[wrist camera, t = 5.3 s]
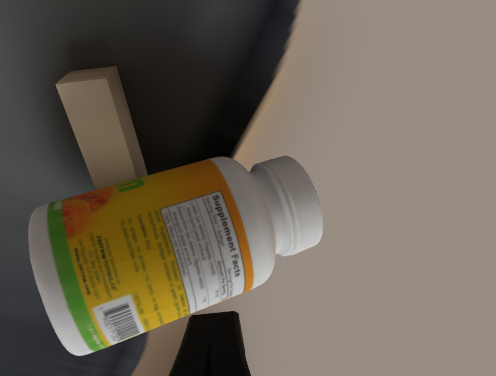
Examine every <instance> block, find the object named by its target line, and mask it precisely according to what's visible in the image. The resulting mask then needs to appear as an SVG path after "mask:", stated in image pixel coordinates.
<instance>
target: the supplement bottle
mask: <svg viewBox="0 0 496 376" xmlns="http://www.w3.org/2000/svg"><path fill="white" fill-rule="evenodd" d="M322 231H323V217H322V211H321V206H320V202H319V199H318V195H317V193H316V190H315V188H314V185H313V184H312V181H311V180H310V178H309V176H308V174H307V173H306V171H305V170H304V168H303V167H302V166H301V165H300V164H299V163H298V162H297V161H296V160H294V159H293V158H291V157H288V156H283V157H279V158H275V159H271V160H268V161H264V162H262V163H258V164H255V165H254V166H253V167H252V169H251V171H250V172H248V171H247V170H246V169H245V168H244V167H243V166H242V165H241V164H240V163H238V162H237V161H235V160H233V159H231V158H228V157H215V158H211V159H206V160H203V161H199V162H195V163H192V164H188V165H185V166H181V167H177V168H174V169H170V170H166V171H163V172H159V173H155V174H152V175H148V176H144V177H140V178H137V179H133V180H130V181H127V182H122V183H119V184H115V185H112V186H108V187H105V188H101V189H98V190H94V191H90V192H87V193H83V194H80V195H76V196H73V197H69V198H65V199H62V200H58V201H55V202H52V203H48V204H45V205H42V206H40V207H38V208H36V209H35V210H34V211H33V213H32V215H31V218H30V221H29V233H28V235H29V252H30V259H31V264H32V268H33V272H34V276H35V280H36V283H37V286H38V289H39V292H40V295H41V298H42V301H43V303H44V306H45V309H46V312H47V314H48V317H49V319H50V321H51V323H52V326H53V328H54V330H55V332H56V334H57V336H58V338H59V339H60V341H61V343H62V344H63V345H64V347H65V348H66V349H67V350H68V351H69V352H70V353H72V354H74V355H78V356H81V355H86V354H89V353H92V352H94V351H98V350H100V349H103V348H106V347H108V346H111V345H114V344H116V343H119V342H121V341H124V340H126V339H129V338H131V337H134V336H136V335H139V334H141V333H144V332H146V331H149V330H151V329H154V328H156V327H159V326H161V325H164V324H166V323H169V322H171V321H174V320H176V319H179V318H181V317H184V316H186V315H189V314H191V313H194V312H196V311H199V310H201V309H204V308H206V307H209V306H211V305H214V304H217V303H219V302H222V301H224V300H226V299H229V298H232V297H234V296H237V295H240V294H242V293H244V292H247V291H249V290H251V289H253V288H255V287H257V286H259V285H261V284H263V283H264V282H265V281H266V280H267V279H268V278H269V277H270V275H271V273H272V271H273V268H274V264H275V257H276V254H277V253H278V254H280V255H282V256H288V255H294V254H296V253H298V252H300V251H303V250H305V249H308V248H310V247H313V246H315V245H316V244H317V243H318V242H319V240H320V239H321V236H322Z"/></svg>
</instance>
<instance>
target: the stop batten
mask: <svg viewBox="0 0 496 376" xmlns="http://www.w3.org/2000/svg"><path fill="white" fill-rule="evenodd" d="M55 85H56V87H57V90H58V92H59V95H60V98H61V100H62V103H63V105H64V108H65V111H66V113H67V116H68V118H69V121H70V124H71V126H72V129H73V132H74V134H75V137H76V139H77V142H78V145H79V147H80V150H81V152H82V155H83V158H84V160H85V163H86V166H87V168H88V171H89V173H90V176H91V179H92V181H93V184H94V186H95V189H96V190H98V189H101V188H105V187H108V186H112V185H115V184H119V183H122V182H127V181H130V180H133V179H137V178H140V177H144V176H148V174H147V171H146V167H145V164H144V160H143V157H142V153H141V150H140V146H139V143H138V139H137V136H136V132H135V129H134V125H133V122H132V119H131V115H130V112H129V108H128V105H127V101H126V98H125V94H124V91H123V87H122V84H121V80H120V77H119V73H118V70H117V66H111V67H103V68H94V69H85V70H76V71H70V72H68V73H67V74H66V75H65V76H64V77H63V78H62V79H61V80H60V81H58V82H57V83H56V84H55Z"/></svg>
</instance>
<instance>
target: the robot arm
mask: <svg viewBox="0 0 496 376" xmlns="http://www.w3.org/2000/svg"><path fill="white" fill-rule="evenodd" d="M169 376H251V374H250V371H249V368H248V365H247V361H246V358H245V348H244V343H243V337H242V331H241V325H240V320H239V314H238V313H237V312H235V311H229V312H219V313H210V314H201V315H192V316H191V317H190V318H189V321H188V324H187V328H186V331H185V334H184V337H183V340H182V343H181V346H180V349H179V351H178V354H177V357H176V360H175V362H174V364H173V367H172V369H171V371H170V374H169Z"/></svg>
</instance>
